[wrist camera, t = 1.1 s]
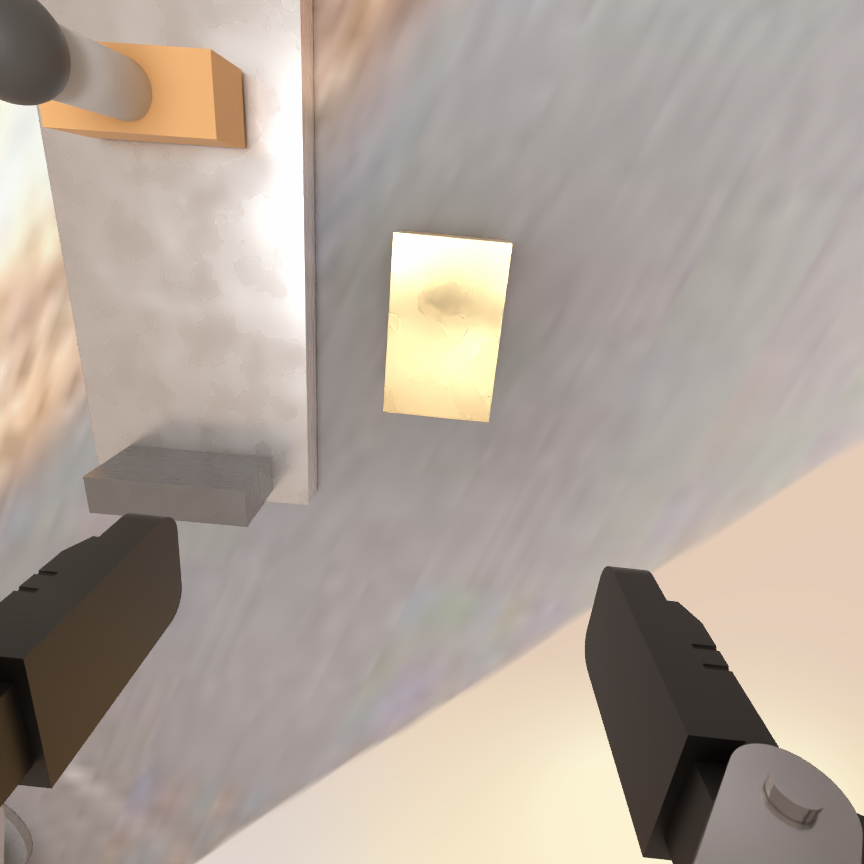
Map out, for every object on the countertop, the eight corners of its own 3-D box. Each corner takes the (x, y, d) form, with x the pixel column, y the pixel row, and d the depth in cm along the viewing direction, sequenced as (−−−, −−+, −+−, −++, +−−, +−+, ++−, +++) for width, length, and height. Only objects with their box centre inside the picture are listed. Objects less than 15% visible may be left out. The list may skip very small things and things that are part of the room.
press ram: (80, 58, 23) (-186, -53, 14) (241, 69, 23) (84, -36, 14) (91, 137, 24) (-148, 84, 15) (245, 148, 24) (103, 102, 15)
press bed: (19, -191, 22) (-131, -329, 17) (310, -174, 22) (258, -310, 16) (123, 471, 33) (53, 522, 28) (317, 488, 33) (287, 544, 27)
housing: (405, 230, 27) (393, 232, 23) (504, 239, 27) (512, 243, 23) (395, 382, 30) (383, 411, 26) (484, 391, 30) (488, 422, 26)
